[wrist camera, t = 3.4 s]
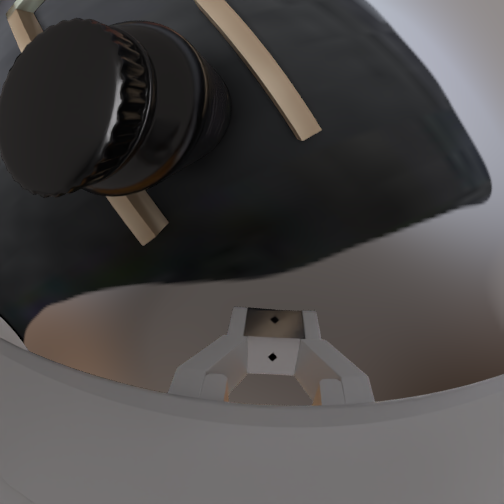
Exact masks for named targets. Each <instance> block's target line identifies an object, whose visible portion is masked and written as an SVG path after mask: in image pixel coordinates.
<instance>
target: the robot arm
mask: <svg viewBox="0 0 504 504" xmlns="http://www.w3.org/2000/svg"><path fill="white" fill-rule="evenodd" d="M247 373H254V374H277V375H294V377H295V378H296V380H297V381H298V382H299V384H300V385H301V386H302V388H303V389H304V390H305V392H306V393H307V394H308V396H309V397H310V398H311V400H312V401H313V404H312V406H292V405H263V404H248V403H235V402H229V393H230V392H231V391H232V390H233V389H234V388H235V387H236V386H237V385H238V384H239V383H240V382H241V381H242V379H243V378H244V377H245V376H246V375H247ZM0 504H504V374H503V375H500V376H497V377H494V378H490V379H487V380H484V381H480V382H477V383H473V384H470V385H466V386H462V387H458V388H454V389H450V390H445V391H441V392H436V393H431V394H427V395H421V396H415V397H409V398H402V399H395V400H387V401H379V402H375V400H374V396H373V392H372V388H371V385H370V381H369V377H368V376H367V375H366V374H365V373H364V372H362V371H361V370H360V369H359V368H358V367H357V366H355V365H354V364H353V363H352V362H351V361H350V360H348V359H347V358H346V357H345V356H344V355H343V354H341V353H340V352H339V351H338V350H337V349H336V348H335V347H333V346H332V345H331V344H330V343H329V342H328V341H326V340H322V339H321V335H320V329H319V323H318V318H317V313H316V311H315V310H313V311H312V310H302V311H292V310H291V311H290V310H272V309H260V308H247V307H234V308H233V310H232V315H231V319H230V323H229V328H228V332H227V335H222V336H220V337H219V338H218V339H216V340H215V341H214V342H212V343H211V344H209V345H208V346H207V347H205V348H204V349H202V350H201V351H200V352H198V353H197V354H195V355H194V356H193V357H191V358H190V359H188V360H187V361H185V362H184V363H183V364H181V365H180V366H179V367H177V369H176V371H175V374H174V377H173V380H172V382H171V385H170V388H169V391H168V393H165V392H160V391H155V390H150V389H145V388H141V387H136V386H132V385H128V384H124V383H121V382H117V381H113V380H109V379H106V378H102V377H99V376H96V375H92V374H89V373H86V372H83V371H80V370H77V369H74V368H71V367H68V366H65V365H63V364H60V363H57V362H54V361H52V360H49V359H47V358H44V357H42V356H39V355H37V354H34V353H32V352H30V351H29V350H28V349H27V348H26V346H25V345H24V343H23V342H22V341H21V339H20V338H19V337H18V336H17V334H16V333H15V332H14V331H13V330H12V328H11V327H10V326H9V325H8V324H7V323H6V322H5V321H4V320H3V319H2V318H1V317H0Z"/></svg>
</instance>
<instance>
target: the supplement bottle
mask: <svg viewBox="0 0 504 504" xmlns="http://www.w3.org/2000/svg"><path fill="white" fill-rule="evenodd" d="M230 116H231V100H230V95H229V92H228V89H227V87H226V85H225V83H224V81H223V80H222V78H221V77H220V76H219V74H218V73H217V72H216V71H215V70H214V69H213V68H212V66H211V65H210V64H209V63H208V62H207V61H206V60H205V59H204V58H203V56H202V55H201V54H200V53H199V52H198V51H197V50H196V49H195V48H194V47H193V46H192V45H191V44H190V43H189V42H188V41H187V40H186V39H185V38H184V37H182V36H181V35H180V34H178V33H177V32H176V31H174V30H172V29H170V28H169V27H166V26H164V25H162V24H158V23H154V22H149V21H126V22H120V23H116V24H113V25H109V26H107V25H105V24H102V23H100V22H97V21H95V20H92V19H87V20H83V19H81V18H75V19H72V20H70V21H67V20H63V21H61V22H59V23H58V24H57V25H52V26H49V27H48V28H47V29H46V30H45V31H44V32H42V33H40V34H38V35H37V36H36V37H35V38H34V39H33V41H32V42H30V43H29V44H27V45H26V47H25V48H24V50H23V52H22V53H21V54H20V55H19V56H18V57H17V58H16V60H15V63H14V65H13V66H12V68H11V69H10V70H9V73H8V76H7V79H6V81H5V82H4V84H3V88H2V93H1V96H0V151H1V157H2V160H3V161H4V163H5V165H6V168H7V171H8V172H9V173H11V175H12V177H13V179H14V181H16V182H18V183H19V184H20V185H21V187H22V188H23V189H26V190H29V191H30V192H31V193H32V194H33V195H36V194H39V195H40V196H42V197H43V198H46V197H49V196H52V197H60V196H63V195H65V194H67V193H73V192H75V191H77V190H79V189H83V190H85V191H88V192H90V193H93V194H97V195H101V196H110V197H118V196H127V195H132V194H136V193H139V192H141V191H144V190H146V189H148V188H151V187H153V186H155V185H157V184H158V183H160V182H162V181H163V180H165V179H167V178H168V177H170V176H171V175H173V174H175V173H176V172H178V171H180V170H181V169H183V168H185V167H186V166H188V165H190V164H192V163H193V162H195V161H197V160H199V159H200V158H202V157H203V156H205V155H206V154H208V153H209V152H210V151H211V150H212V149H213V148H214V147H215V146H216V145H217V144H218V143H219V142H220V140H221V139H222V137H223V135H224V134H225V132H226V130H227V127H228V124H229V121H230Z"/></svg>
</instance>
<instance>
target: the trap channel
mask: <svg viewBox="0 0 504 504" xmlns="http://www.w3.org/2000/svg"><path fill="white" fill-rule="evenodd" d="M43 2H44V0H16V2H15V3H14V4H13V5H12V7H11V8H10V9H9V11H8V12H7V13H6V16H7V19H8V22H9V24H10V27H11V29H12V32H13V34H14V37H15V39H16V41H17V44H18V46H19V48H20V50H21V53H22V52H23V50H24V48H25V47H26V45H27V44H29V43H30V42H32V41H33V39H34V38H35V37H36V36H37V35H38V34H40V33H42V32H43V30H42V28H41V26H40V25H39V23H38V21H37V19H36V17H35V15H34V12H35V11H36V10H37V8H38V7H39V6H40V5H41V4H42V3H43ZM194 2H195V3H196V5H197V6H198V8H199V9H200V10H201V11H202V13H203V14H204V15H205V16H206V17H207V18H208V19H209V20H210V22H211V23H212V24H213V25H214V26H215V27H216V28H217V30H218V31H219V32H220V33H221V34H222V36H223V37H224V38H225V39H226V40H227V42H228V43H229V44H230V45H231V47H232V48H233V49H234V50H235V52H236V53H237V54H238V55H239V57H240V58H241V59H242V61H243V62H244V63H245V64H246V66H247V67H248V68H249V70H250V71H251V72H252V74H253V75H254V76H255V78H256V79H257V81H258V82H259V83H260V85H261V86H262V87H263V89H264V90H265V92H266V93H267V94H268V96H269V97H270V99H271V100H272V102H273V103H274V105H275V106H276V107H277V109H278V110H279V112H280V113H281V115H282V116H283V118H284V119H285V121H286V122H287V124H288V125H289V127H290V129H291V130H292V132H293V133H294V135H295V136H296V138H297V139H298V140H301V141H304V140H305V139H307V138H309V137H311V136H312V135H314V134H316V133H318V132H319V131H321V128H320V126H319V125H318V123H317V121H316V120H315V118H314V117H313V115H312V113H311V112H310V110H309V109H308V107H307V106H306V104H305V103H304V101H303V100H302V98H301V97H300V95H299V94H298V92H297V91H296V89H295V88H294V86H293V85H292V83H291V82H290V81H289V79H288V78H287V76H286V75H285V74H284V72H283V71H282V69H281V68H280V67H279V65H278V64H277V63H276V61H275V60H274V59H273V57H272V56H271V55H270V53H269V52H268V51H267V50H266V48H265V47H264V46H263V44H262V43H261V42H260V41H259V39H258V38H257V37H256V36H255V35H254V33H253V32H252V31H251V30H250V29H249V27H248V26H247V25H246V24H245V23H244V22H243V20H242V19H241V18H240V17H239V16H238V15H237V14H236V12H235V11H234V10H233V9H232V8H231V7H230V6H229V5H228V4H227V3H226V2H225V1H224V0H194ZM106 197H107V199H108V200H109V202H110V203H111V204H112V206H113V207H114V209H115V210H116V211H117V213H118V214H119V215H120V217H121V218H122V219H123V221H124V222H125V224H126V225H127V226H128V228H129V229H130V230H131V231H132V233H133V234H134V235H135V237H136V238H137V239H138V241H139V242H140V243H141V244H142V246H144V245H145V244H147V243H148V242H149V241H151V240H152V239H153V238H155V237H156V236H157V235H158V234H159V233H160V232H161V230H162V229H163V228H164V227H165V226H166V225H167V224H168V223H169V222H168V221H167V219H166V218H165V217H164V215H163V214H162V213H161V211H160V210H159V209H158V207H157V206H156V205H155V203H154V202H153V201H152V199H151V198H150V196H149V195H148V194H147V192H146V191H145V190H144V191H141V192H139V193H136V194H132V195H127V196H118V197H110V196H106Z"/></svg>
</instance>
